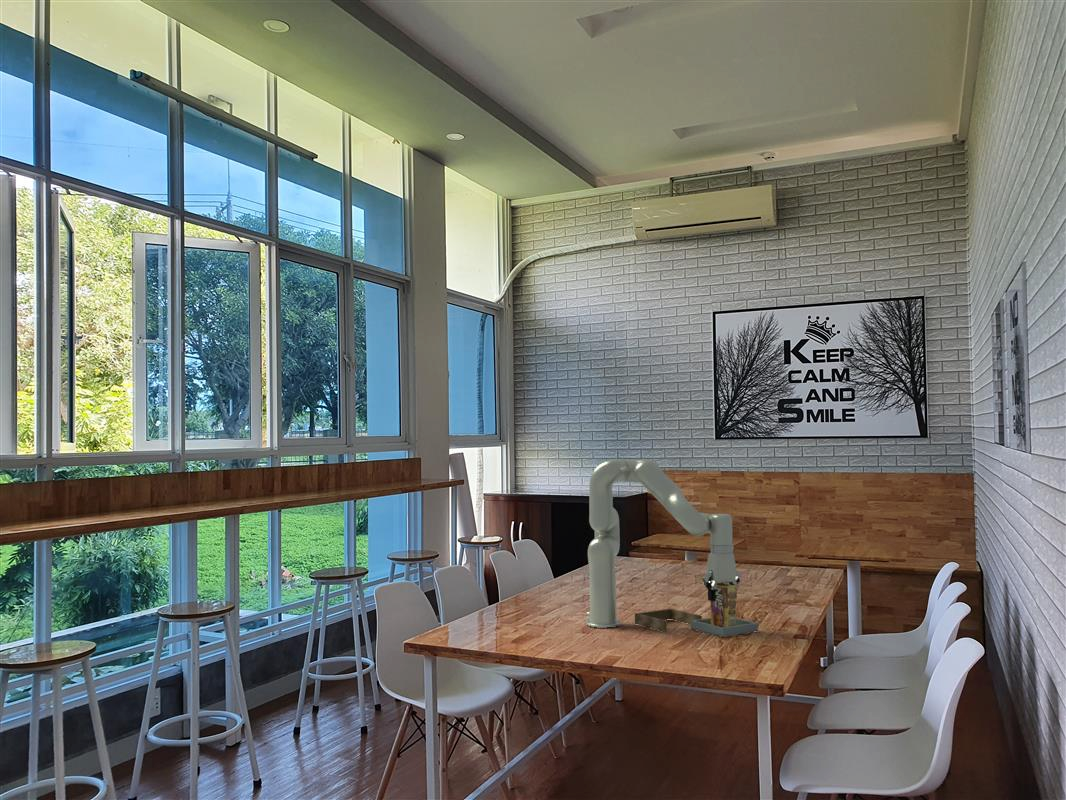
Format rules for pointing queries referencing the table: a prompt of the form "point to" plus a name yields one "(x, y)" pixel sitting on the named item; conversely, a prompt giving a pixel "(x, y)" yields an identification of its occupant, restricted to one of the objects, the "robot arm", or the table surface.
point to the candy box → (724, 606)
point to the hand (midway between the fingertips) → (722, 599)
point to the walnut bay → (663, 618)
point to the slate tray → (740, 628)
